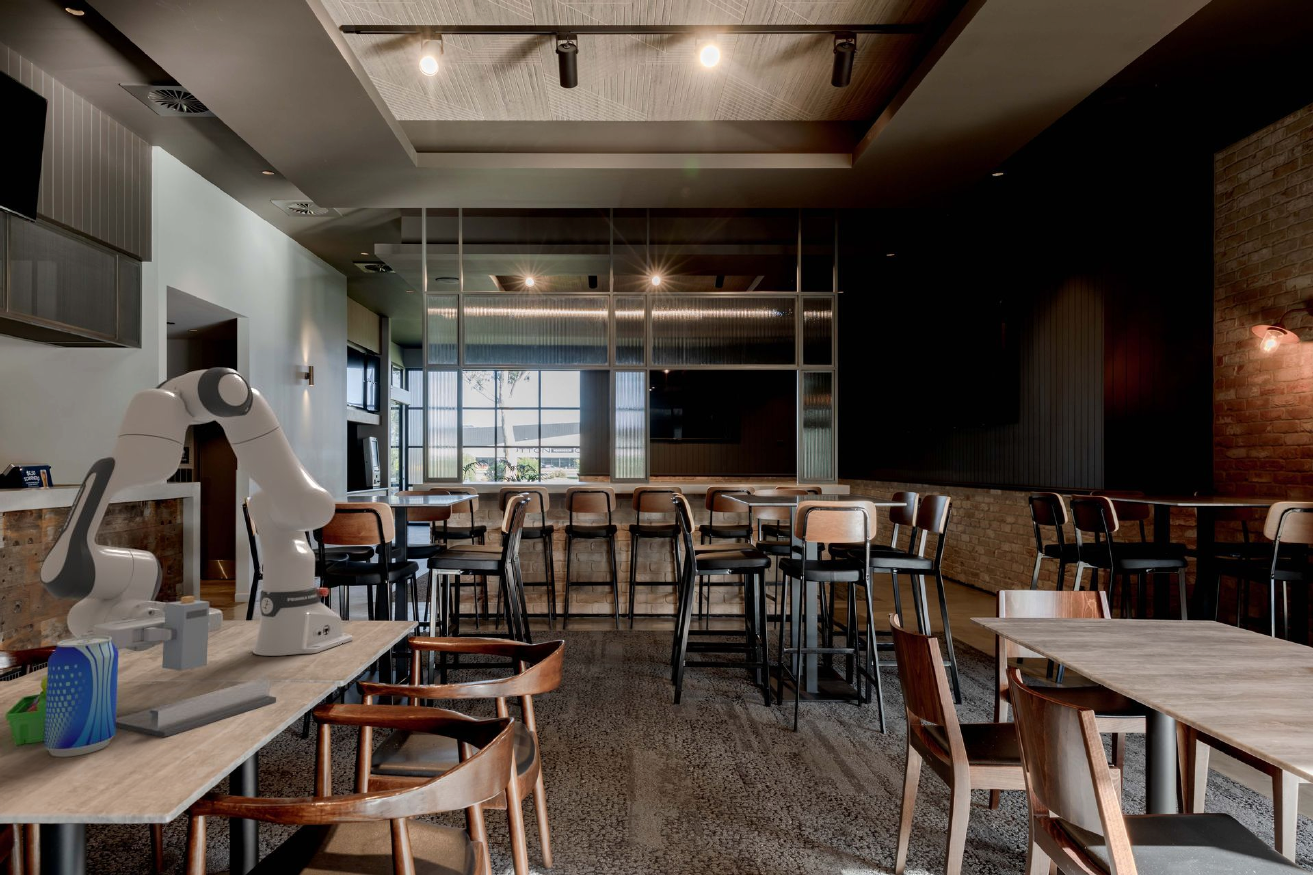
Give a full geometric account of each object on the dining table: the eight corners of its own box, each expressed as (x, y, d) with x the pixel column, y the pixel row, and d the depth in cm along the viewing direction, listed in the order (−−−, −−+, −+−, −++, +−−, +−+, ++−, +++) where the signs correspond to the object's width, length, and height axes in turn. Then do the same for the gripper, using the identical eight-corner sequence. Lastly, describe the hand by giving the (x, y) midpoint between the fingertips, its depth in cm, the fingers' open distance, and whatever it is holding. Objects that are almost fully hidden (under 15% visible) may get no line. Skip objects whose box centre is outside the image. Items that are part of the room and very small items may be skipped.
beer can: (128, 741, 113) (132, 636, 114) (69, 761, 105) (73, 648, 106) (90, 735, 116) (94, 632, 117) (29, 754, 108) (34, 644, 109)
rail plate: (223, 692, 139) (223, 672, 139) (276, 701, 133) (276, 680, 133) (108, 725, 120) (109, 701, 121) (164, 737, 115) (165, 712, 115)
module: (187, 661, 131) (190, 594, 132) (206, 664, 129) (209, 595, 130) (162, 667, 127) (165, 597, 128) (181, 670, 125) (184, 599, 126)
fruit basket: (21, 727, 120) (25, 657, 120) (89, 718, 124) (92, 650, 125) (1, 749, 110) (5, 673, 110) (76, 739, 114) (79, 665, 115)
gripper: (76, 616, 124) (127, 623, 119) (193, 599, 143) (243, 604, 138) (74, 654, 124) (125, 663, 119) (192, 632, 143) (241, 639, 137)
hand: (189, 631), depth 128 cm, fingers closed on module, 4 cm apart
